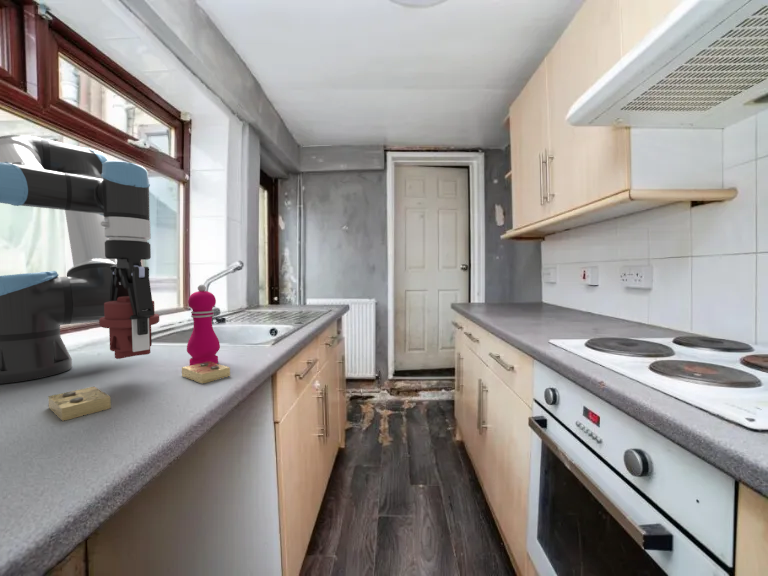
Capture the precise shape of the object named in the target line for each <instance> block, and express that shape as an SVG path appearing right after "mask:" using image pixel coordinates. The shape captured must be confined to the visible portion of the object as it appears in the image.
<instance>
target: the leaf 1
mask: <svg viewBox="0 0 768 576" xmlns="http://www.w3.org/2000/svg"><path fill="white" fill-rule="evenodd" d="M47 399H48V409H49V410H51V411H53V412H54V413H53V414H54V415H55V416H56V415H57V416H56V417H57V418H58V419H59V418H60V419H61V420H62V421H61V420H60V419H59V420H60V421H61V422H65V421H68V420H69V421H70V420H72V419H76V418H80V417H83V415H84V416H88V415H91V414H94V413H98V412H103V411H106V410H109V409H111V408H112V401H111V396H110V395H109V394H107V393H105V392H103V391H102V390H101V389H99V388H97V387H95V386H89V387H85V388H81V389H76V390H71V391H68V392H67V391H66V392H62V393H58V394H53V395H48V398H47ZM102 410H103V411H102ZM87 414H88V415H87ZM64 420H65V421H64Z"/></svg>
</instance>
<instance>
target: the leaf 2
mask: <svg viewBox="0 0 768 576" xmlns="http://www.w3.org/2000/svg"><path fill="white" fill-rule="evenodd" d="M228 376H230V377H231V367H230V366H226V365H223V364H219V363H218V364H216V363H213V362H204V363H199V364H195V365H190V364H189V365H186V366H182V367H181V377H184V378H185V377H186V378H185V379H187V380H191V381H193V380H194V381H193V382H196V383H199V384H201V383H202V384H201V385H203V383H204V384H207V383H210V382H214V380H215V381H218V380H221V379H220V378H222V379H225V378H224V377H226V378H229V377H228ZM217 379H218V380H217Z"/></svg>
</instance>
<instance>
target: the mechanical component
mask: <svg viewBox="0 0 768 576" xmlns="http://www.w3.org/2000/svg"><path fill="white" fill-rule="evenodd" d="M152 302H153V309H154V315H153V316H150V318H149V340H150V347H152V326H153V325H157V324H158V323H159V322H160V314H158V313H156V312H155V300H152ZM104 315H105V317H102V318H100V319H99V322H98V323H99V326H100V327H101V328H103V329H108V333H109V350H110V351H111V352H114V359H115V360H118V359H119V360H121V359H125V358H130V357H131V358H132V357H137V356H145V355H146V356H147V355H150V354H151V348H150V349H149V350H143V351H137V352H133V349H132V320H130V316H131V315H133V311H132V307H131V303H130V299H129V296H122V297H118V298H117V301H109V302H106V303H104Z"/></svg>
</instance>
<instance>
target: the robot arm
mask: <svg viewBox="0 0 768 576" xmlns="http://www.w3.org/2000/svg"><path fill="white" fill-rule="evenodd" d="M149 180H150V179H149V172H148V170H147V169H146V167H143V166H142V165H141V164H140V165H139V164H136V163H133V162H129V161H124V160H110V159H109V158H108V156H107V155H106V153H103V152H101V151H99V150H96V149H92V148H90V147H87V146H84V147H82V146H77V145H75V144H74V145H73V144H68V143H64V142H60V141H55V140H51V139H46V138H41V137H38V136H33V135H26V134H25V135H24V134H11V135H10V134H8V135H1V136H0V204H5V205H10V206H14V207H16V206H17V207H19V206H20V207H21V206H22V207H31V208H40V209H41V208H42V209H51V210H61V211H64V213H65V214H64V215H65V220H66V226H67V233H68V239H69V245H70V252H71V257H72V265H73V266H72V267H70V268H69V269H68V270H67V272H66V276H59V275H60V274H59V273H58V272H57V270H49V271H48V270H47V271H38V272H27V273H15V274H4V275H0V384H3V385H4V384H9V383H10V384H12V383H18V382H25V381H30V380H36V379H37V380H38V379H41V378H46V377H50V376H54V375H57V374H62V373H64V372H66V371H69V370H71V369H73V359H72V356H71V355H70V353H69V351H68V349H67V347H66V345H65V343H64V342H63V340H62V337H61V326H64V325H75V324H86V323H87V324H88V323H99V319H100V318H102V317H105V315H104V303H106V302H109V301H117V298H118V297H122V296H129V299H130V303H131V307H132V311H133V315H131V316H130V320H132V349H133V352H137V351H143V350H149V349H150V350H151V346H150V340H149V318H150V316H153V315H154V311H155V308H154V309H153V302H152V301H153V295H152V289H151V282H150V268H149V266H142V261H143V260H145V261H146V260H150V259H151V254H152V253H151V252H152V251H151V249H152V248H151V243H150V242H149V241H150V239H151V220H150V186H151V184H150V181H149ZM148 240H149V241H148Z"/></svg>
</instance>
